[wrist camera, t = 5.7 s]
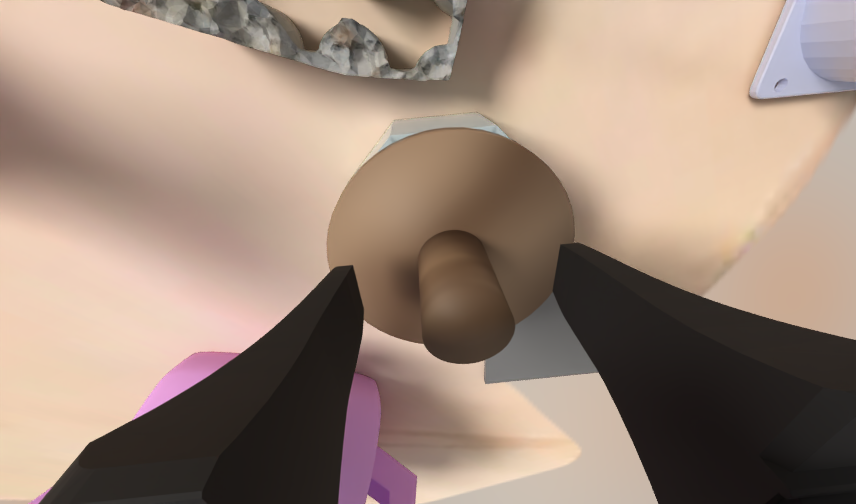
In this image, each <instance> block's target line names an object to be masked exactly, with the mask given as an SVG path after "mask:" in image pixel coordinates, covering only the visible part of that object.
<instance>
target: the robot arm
mask: <svg viewBox="0 0 856 504" xmlns="http://www.w3.org/2000/svg"><path fill="white" fill-rule="evenodd" d="M777 82H778V84H777V86H776V87H775V85H776V83H777ZM774 87H775V88H774ZM853 90H856V0H786V3H785V5H784V8H783V10H782V12H781V15H780V17H779V20H778V22H777V24H776V27H775V29H774V32H773V34H772V36H771V39H770V41H769V44H768V46H767V48H766V51H765V53H764V56H763V58H762V60H761V63H760V65H759V68H758V70H757V72H756V75H755V77H754V80H753V82H752V84H751V87H750V91H749V93H750V96H751V97H752V98H756V99H769V98H780V97H790V96H801V95H811V94H822V93H832V92H843V91H853ZM552 291H553V294H554V296H555V298H556V301H557V303H558V305H559V308H560V310H561V312H562V314H563V316H564V318H565V319H566V321H567V323H568V324H569V326H570V327H571V329H572V331H573V332H574V334H575V336H576V337H577V339H578V340H579V342H580V343H581V345H582V347H583V348H584V350H585V351H586V353H587V355H588V356H589V358H590V359H591V361H592V363H593V364H594V366H595V367H596V369H597V371H598V372H599V374H600V376H601V378H602V379H603V381H604V383H605V385H606V387H607V389H608V391H609V393H610V395H611V397H612V398H613V401H614V403H615V405H616V407H617V409H618V411H619V413H620V415H621V417H622V420H623V422H624V424H625V426H626V428H627V431H628V432H629V435H630V437H631V439H632V441H633V444H634V446H635V448H636V451H637V453H638V455H639V458H640V460H641V462H642V465H643V467H644V469H645V472H646V474H647V476H648V479H649V481H650V483H651V486H652V489H653V491H654V494H655V496H656V499H657V501H658V504H856V340H853V339H848V338H844V337H839V336H835V335H831V334H827V333H823V332H819V331H815V330H811V329H807V328H802V327H799V326H795V325H791V324H787V323H784V322H780V321H776V320H773V319H769V318H766V317H762V316H759V315H756V314H752V313H749V312H745V311H742V310H739V309H736V308H732V307H729V306H727V305H723V304H720V303H718V302H715V301H712V300H709V299H706V298H704V297H701V296H698V295H695V294H692V293H690V292H687V291H685V290H682V289H680V288H677V287H675V286H672V285H670V284H668V283H665V282H663V281H660V280H658V279H656V278H653V277H651V276H649V275H647V274H645V273H642V272H640V271H638V270H636V269H634V268H632V267H630V266H627V265H625V264H623V263H621V262H619V261H617V260H615V259H613V258H611V257H609V256H607V255H605V254H603V253H601V252H598V251H596V250H594V249H592V248H590V247H588V246H585V245H583V244H580V243H570V244H560V249H559V255H558V261H557V267H556V273H555V278H554V284H553V290H552ZM363 321H364V307H363V303H362V299H361V295H360V291H359V287H358V283H357V279H356V275H355V271H354V267H353V265H347V266H337V267H335V268H334V269H332V270H331V271H330V273H329V274H328V275H327V276H326V277H325V278H324V279H323V280H322V281H321V282H320V283H319V284H318V285H317V286H316V287H315V288H314V289H313V290H312V291H311V292H310V294H309V295H308V296H307V297H306V298H305V299H304V300H303V301H302V302H301V303H300V304H299V305H298V306H297V307H295V308H294V309H293V310H292V311H291V312H290V313H289V314H288V315H287V316H286V317H285V318H284V319H283V320H282V321H280V322H279V323H278V324H277V325H276V326H275V327H274V328H273V329H271V330H270V331H269V332H268V333H267V334H265V335H264V336H263V337H262V338H260V339H259V340H258V341H257V342H255V343H254V344H253V345H252V346H250V347H249V348H248V349H246V350H245V351H244V352H242V353H241V354H239V355H238V356H237V357H235V358H234V359H232V360H231V361H229V362H228V363H226V364H225V365H224V366H222V367H221V368H219V369H218V370H216V371H215V372H213V373H212V374H211V375H209V376H207V377H206V378H204V379H203V380H201V381H200V382H198V383H196V384H195V385H193V386H192V387H190V388H188V389H187V390H185V391H183V392H182V393H180V394H178V395H177V396H175V397H173V398H172V399H170V400H168V401H167V402H165V403H163V404H161V405H160V406H158V407H156V408H154V409H153V410H151V411H149V412H147V413H145V414H143V415H141V416H140V417H138V418H136V419H134V420H132V421H130V422H128V423H126V424H125V425H123V426H121V427H119V428H117V429H115V430H113V431H111V432H110V433H108V434H106V435H104V436H102V437H100V438H98V439H96V440H94V441H92V442H90V443H89V444H88V445H87V446H86V447H85V449H84V450H83V451H82V452H81V453H80V455H79V456H78V457H77V458H76V459H75V461H74V462H73V463H72V464H71V465H70V467H69V468H68V469H67V470H66V471H65V473H64V474H63V475H62V476H61V477H60V479H59V480H58V481H57V482H56V483H55V485H54V486H53V487H52V488H51V489H50V490H49V492H48V493H47V494H46V495H45V496H44V498H43V499H42V500H41V501H40V502H39V504H338V500H339V487H340V474H341V464H342V453H343V443H344V433H345V424H346V415H347V407H348V402H349V396H350V391H351V386H352V382H353V377H354V372H355V368H356V363H357V358H358V354H359V349H360V344H361V339H362V333H363Z"/></svg>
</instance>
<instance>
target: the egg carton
mask: <svg viewBox="0 0 856 504" xmlns="http://www.w3.org/2000/svg"><path fill="white" fill-rule="evenodd" d="M101 1H102V2H104V3H107V4H109V5H112V6H116V7H119V8H121V9H123V10H127V11H132V12H135V13H139V14H142V15H145V16H149V17H152V18H156V19H159V20H162V21H166V22H169V23H172V24H175V25H179V26H183V27H186V28H189V29H192V30H195V31H198V32H202V33H206V34H210V35H213V36H216V37H220V38H223V39H226V40H229V41H231V42H234V43H237V44H240V45H243V46H246V47H250V48H254V49H257V50H260V51H263V52H267V53H271V54H274V55H278V56H281V57H285V58H288V59H292V60H295V61H298V62H302V63H305V64H308V65H311V66H314V67H317V68H321V69H324V70H328V71H332V72H336V73H340V74H344V75H352V76H364V77H375V78H391V79H410V80H417V81H427V80H449V79H450V77H451V72H452V67H453V64H454V59H455V55H456V51H457V47H458V43H459V38H460V33H461V29H462V24H463V18H464V12H465V8H466V4H467V0H433V1H434V2H435V4H436V5H437V6H438V7H439V8H440V9H441V10H442V11H443V12H444V13H446V14H448V15H449V16H451V18H452V24H451V27H450V34H449V39H448V43H447V44H446V45H439V46H435V47H433V48H431V49H429V50H428V51H426V52H425V53H424V54H423V55H422V56H421V57H420V59H419V61H418V62H417V64H416V66H415V67H414V68H412V69H393V68H391V67H390V66H389V63H388V57H387V53H386V51H385V49H384V47H383V45H382V43H381V42H380V40H379V39H378V38H377V36H375V34H373V33H372V32H371V31H370V30H369V29H368V28H366V27H365V26H363V25H361V24H359V23H358V22H356V21H355V20H353V19H348V18H342V19H341V20H340V22H339V23H338V24H337V25H336V26H334V27H332V28H331V29H330V30H329V31H328V32H327V33H326V34H325V35H324V36H323V38H322V40H321V42H320V45H319V49H318V50H305V48H304V44H303V40H302V38H301V35H300V32H299V31H298V29H297V28H296V26H295V25H294V24H293V22H292V21H291V20H290V19H289V18H288V17H286V16H285V15H284V14H283V13H282V12H280V11H278V10H276V9H274V8H272V7H270V6H268V5H266V4H263V3H261V2H259V1H258V0H101Z"/></svg>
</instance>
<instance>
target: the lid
mask: <svg viewBox="0 0 856 504" xmlns="http://www.w3.org/2000/svg"><path fill="white" fill-rule="evenodd" d="M573 242H574V218H573V212H572V207H571V204H570V201H569V199H568V196H567V193H566V191H565V189H564V188H563V186H562V184H561V182H560V180H559V179H558V178H557V176H556V175H555V174H554V173H553V171H552V170H551V169H550V168H549V167H548V166H547V165H546V164H545V163H544V162H543V161H542V160H541V159H539V158H538V157H537V156H536V155H535V154H533V153H532V152H530V151H529V150H527V149H526V148H524V147H523V146H521V145H520V144H518V143H517V142H515V141H513V140H511V139H508V138H506V137H504V136H502V135H499V134H496V133H493V132H489V131H485V130H482V129H474V128H466V127H448V128H439V129H432V130H426V131H423V132H419V133H416V134H413V135H410V136H407V137H405V138H403V139H400V140H398V141H396V142H394V143H392V144H390V145H388V146H387V147H385V148H384V149H382V150H381V151H379V152H378V153H376V154H375V155H374V156H373V157H371V158H370V159H369V160H368V161H367V162H366V163H364V164H363V165H362V166H361V167H360V169H359V170H358V171H357V172H356V173H355V174H354V176H353V177H352V178H351V179H350V181H349V183H348V184H347V186H346V187H345V189H344V190H343V192H342V194H341V196H340V198H339V200H338V202H337V205H336V207H335V209H334V211H333V214H332V217H331V221H330V224H329V228H328V236H327V258H328V263H329V268H330V271H331V270H332V269H334V268H335V267H337V266H347V265H353V267H354V271H355V275H356V279H357V283H358V287H359V291H360V295H361V299H362V303H363V307H364V320H365V321H366V322H367V323H369V324H370V325H372V326H374V327H375V328H377V329H378V330H380V331H382V332H385V333H387V334H389V335H391V336H394V337H397V338H399V339H402V340H406V341H410V342H415V343H421V344H424V345H425V347H426V348H427V350H428V351H429V352H430V353H431V354H432V355H434V356H435V357H437V358H439V359H441V360H443V361H446V362H450V363H456V364H469V363H476V362H480V361H483V360H486V359H488V358H491V357H493V356H495V355H496V354H498V353H499V352H501V351H502V350H503V349H504V348H505V347H506V346H507V345H508V344H509V342H510V341H511V339H512V337H513V335H514V332H515V325H516V324H518V323H519V322H521V321H522V320H524V319H525V318H527V317H528V316H529V315H531V314H532V313H533V312H534V311H535V310H536V309H538V308H539V307H540V306H541V305H542V304H543V303H544V302H545V301H546V299H547V298H548V297H549V296H550V295H551V293H552V292H553V291H552V290H553V284H554V278H555V273H556V267H557V261H558V255H559V249H560V244H570V243H573Z"/></svg>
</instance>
